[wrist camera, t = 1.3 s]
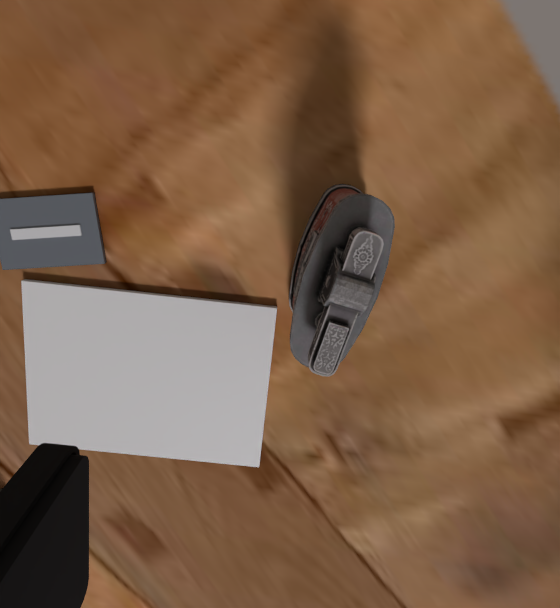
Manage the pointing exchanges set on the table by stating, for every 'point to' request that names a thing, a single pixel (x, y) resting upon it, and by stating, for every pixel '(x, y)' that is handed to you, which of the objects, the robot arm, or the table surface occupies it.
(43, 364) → the paper
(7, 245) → the plate
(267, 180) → the table surface
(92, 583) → the table surface
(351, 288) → the lighter
